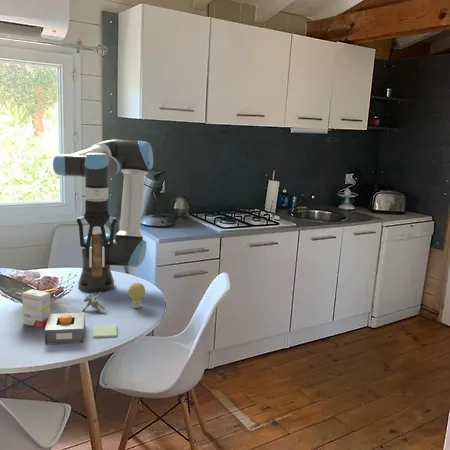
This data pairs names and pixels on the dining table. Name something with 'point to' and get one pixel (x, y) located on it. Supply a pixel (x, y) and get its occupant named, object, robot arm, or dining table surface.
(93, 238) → the walnut dowel
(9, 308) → the dining table surface
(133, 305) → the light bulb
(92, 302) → the elephant figurine
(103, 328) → the mat
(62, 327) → the grey square holder
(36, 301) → the ink box
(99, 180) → the robot arm
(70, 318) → the button
